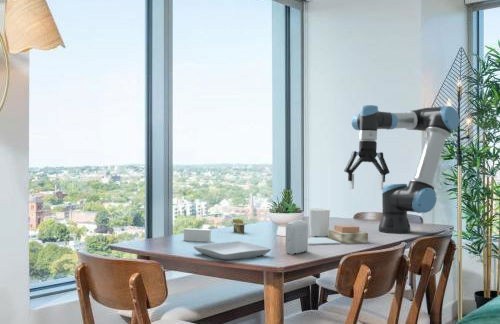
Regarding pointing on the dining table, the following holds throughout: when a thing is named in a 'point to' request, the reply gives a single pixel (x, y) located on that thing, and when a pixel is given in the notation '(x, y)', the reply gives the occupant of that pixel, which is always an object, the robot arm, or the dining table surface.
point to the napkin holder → (197, 234)
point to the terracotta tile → (346, 228)
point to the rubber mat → (321, 241)
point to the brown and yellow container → (238, 225)
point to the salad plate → (232, 250)
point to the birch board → (348, 237)
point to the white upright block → (296, 236)
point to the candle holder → (319, 222)
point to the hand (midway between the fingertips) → (366, 189)
